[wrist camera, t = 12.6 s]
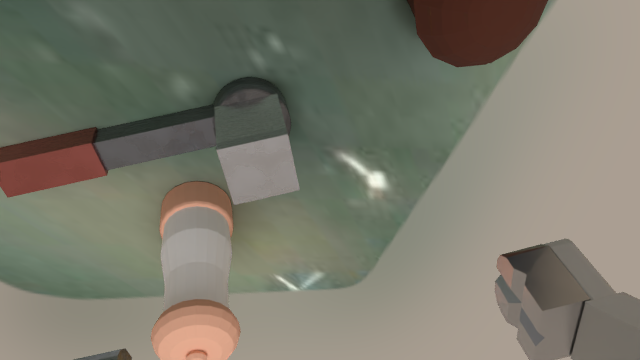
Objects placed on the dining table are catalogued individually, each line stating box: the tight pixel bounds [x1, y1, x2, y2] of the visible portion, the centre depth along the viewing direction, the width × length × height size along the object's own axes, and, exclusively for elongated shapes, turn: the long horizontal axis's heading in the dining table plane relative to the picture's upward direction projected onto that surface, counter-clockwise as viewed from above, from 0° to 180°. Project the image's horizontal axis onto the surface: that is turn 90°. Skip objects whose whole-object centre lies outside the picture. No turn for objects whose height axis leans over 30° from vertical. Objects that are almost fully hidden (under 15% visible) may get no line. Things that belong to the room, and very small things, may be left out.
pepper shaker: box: [151, 181, 240, 360], centre depth 48 cm, size 7×7×19 cm
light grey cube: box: [214, 94, 300, 205], centre depth 45 cm, size 6×6×7 cm
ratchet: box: [0, 77, 291, 197], centre depth 47 cm, size 7×26×6 cm, turn 98°
